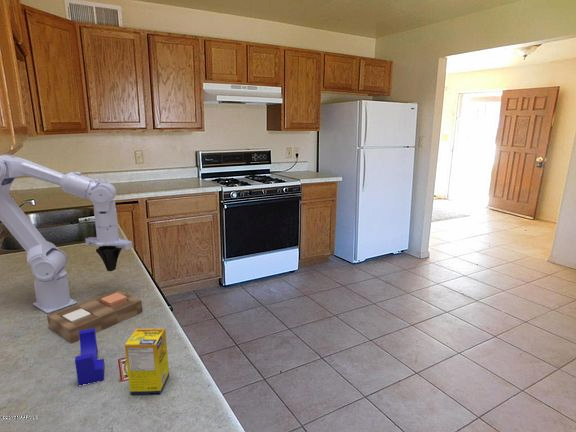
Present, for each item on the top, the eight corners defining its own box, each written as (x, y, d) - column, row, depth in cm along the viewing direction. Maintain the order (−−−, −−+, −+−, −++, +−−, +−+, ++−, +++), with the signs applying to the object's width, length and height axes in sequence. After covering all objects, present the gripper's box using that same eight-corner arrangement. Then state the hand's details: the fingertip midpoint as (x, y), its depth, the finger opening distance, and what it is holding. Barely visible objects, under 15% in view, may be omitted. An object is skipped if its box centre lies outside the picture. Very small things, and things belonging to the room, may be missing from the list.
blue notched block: (103, 381, 76) (100, 355, 74) (78, 387, 74) (74, 360, 72) (105, 350, 86) (102, 326, 85) (83, 354, 84) (79, 330, 83)
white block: (64, 328, 95) (62, 315, 94) (83, 320, 99) (81, 308, 98) (73, 334, 92) (71, 321, 91) (92, 326, 96) (91, 313, 95)
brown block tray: (48, 327, 95) (46, 315, 94) (118, 300, 110) (117, 289, 110) (71, 343, 88) (69, 329, 88) (142, 312, 104) (141, 300, 103)
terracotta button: (102, 310, 103) (100, 298, 102) (118, 303, 106) (117, 292, 106) (111, 315, 100) (110, 303, 99) (128, 308, 104) (126, 296, 103)
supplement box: (169, 374, 77) (165, 327, 75) (161, 394, 72) (156, 344, 69) (140, 375, 77) (136, 327, 75) (129, 395, 71) (124, 344, 69)
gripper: (74, 226, 104) (80, 272, 107) (118, 230, 100) (122, 277, 103) (94, 220, 111) (99, 263, 114) (135, 224, 107) (139, 269, 110)
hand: (111, 270), depth 109 cm, fingers closed
